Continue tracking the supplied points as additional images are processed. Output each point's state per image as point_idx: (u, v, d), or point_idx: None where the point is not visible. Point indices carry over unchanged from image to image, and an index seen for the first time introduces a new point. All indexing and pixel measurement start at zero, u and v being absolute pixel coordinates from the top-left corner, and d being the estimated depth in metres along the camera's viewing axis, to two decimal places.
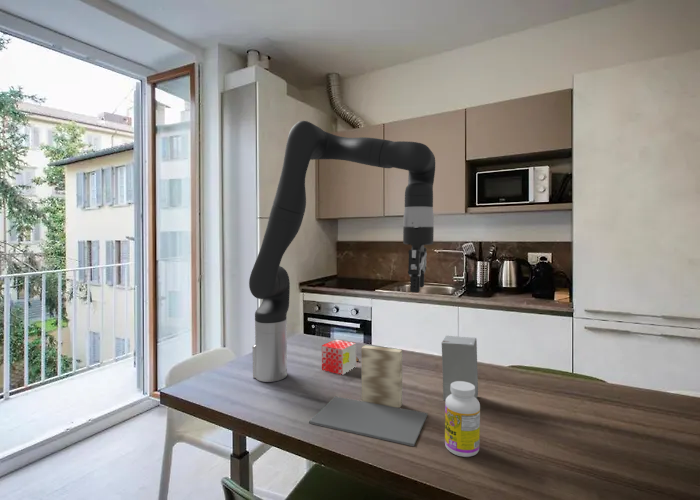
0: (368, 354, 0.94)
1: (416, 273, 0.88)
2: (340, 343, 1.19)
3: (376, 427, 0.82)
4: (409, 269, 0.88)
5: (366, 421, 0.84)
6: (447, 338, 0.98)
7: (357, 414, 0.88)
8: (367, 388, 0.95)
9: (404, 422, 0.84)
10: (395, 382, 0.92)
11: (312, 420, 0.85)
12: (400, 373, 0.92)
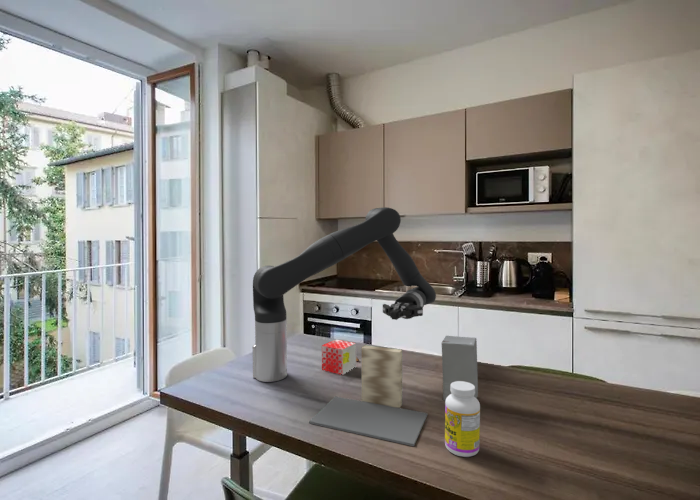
0: (368, 354, 0.94)
1: (409, 315, 1.07)
2: (340, 343, 1.20)
3: (376, 427, 0.82)
4: (410, 309, 1.07)
5: (366, 421, 0.84)
6: (447, 338, 0.98)
7: (357, 414, 0.88)
8: (367, 388, 0.95)
9: (404, 422, 0.84)
10: (395, 382, 0.92)
11: (312, 420, 0.85)
12: (400, 373, 0.92)
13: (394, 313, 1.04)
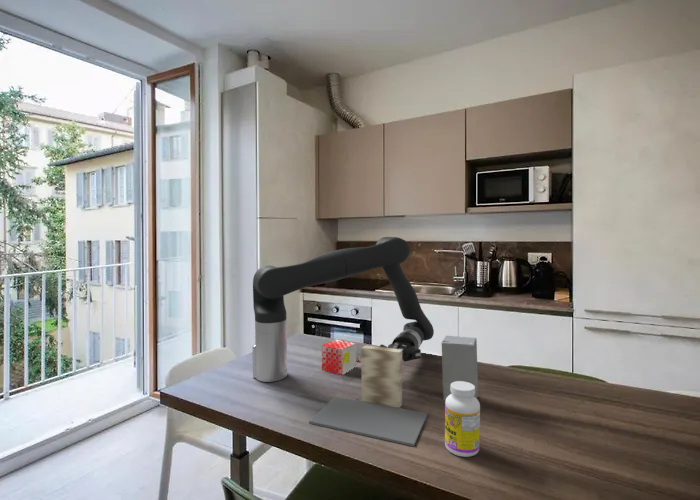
0: (368, 354, 0.94)
1: (406, 359, 1.06)
2: (340, 343, 1.20)
3: (376, 427, 0.82)
4: (408, 353, 1.06)
5: (366, 421, 0.84)
6: (447, 338, 0.98)
7: (357, 414, 0.88)
8: (367, 388, 0.95)
9: (404, 422, 0.84)
10: (395, 382, 0.92)
11: (312, 420, 0.85)
12: (400, 373, 0.92)
13: None
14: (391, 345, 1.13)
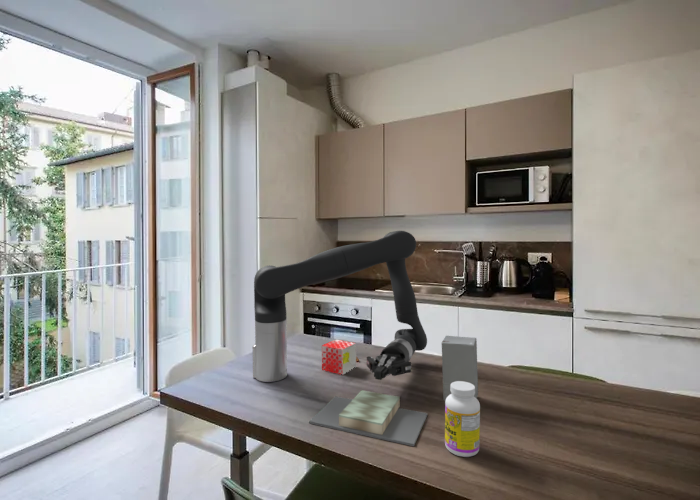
0: None
1: (395, 373, 0.95)
2: (340, 343, 1.20)
3: None
4: (397, 366, 0.95)
5: None
6: (447, 338, 0.98)
7: None
8: None
9: (404, 422, 0.84)
10: None
11: (312, 420, 0.85)
12: (389, 418, 0.84)
13: (378, 372, 0.92)
14: (379, 357, 1.02)
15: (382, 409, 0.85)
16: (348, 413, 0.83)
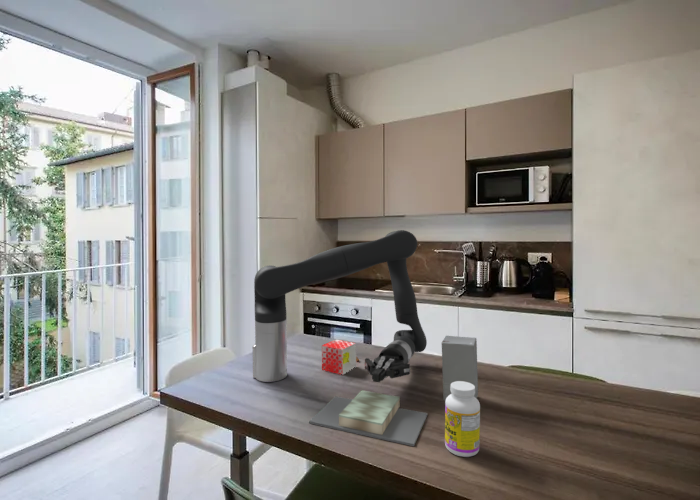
0: None
1: (393, 375, 0.94)
2: (340, 343, 1.20)
3: None
4: (395, 369, 0.94)
5: None
6: (447, 338, 0.98)
7: None
8: None
9: (404, 422, 0.84)
10: None
11: (312, 420, 0.85)
12: (389, 418, 0.84)
13: (376, 375, 0.90)
14: (377, 359, 1.01)
15: (382, 409, 0.85)
16: (348, 413, 0.83)
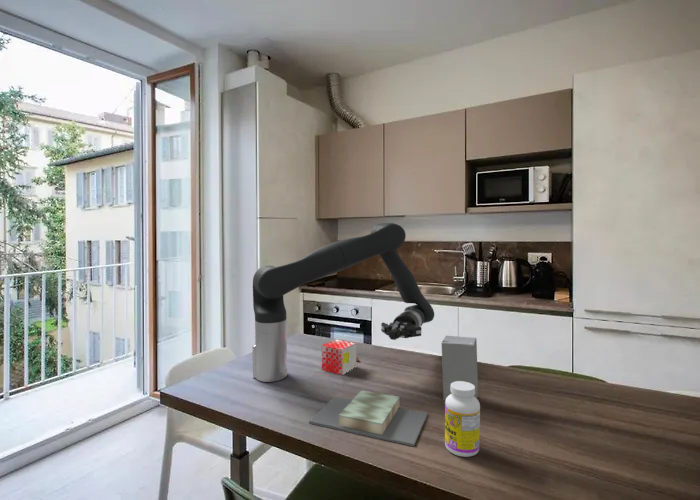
0: None
1: (407, 335, 1.07)
2: (340, 343, 1.20)
3: None
4: (409, 329, 1.07)
5: None
6: (447, 338, 0.98)
7: None
8: None
9: (404, 422, 0.84)
10: None
11: (312, 420, 0.85)
12: (389, 418, 0.84)
13: (393, 333, 1.04)
14: (392, 323, 1.14)
15: (382, 409, 0.85)
16: (348, 413, 0.83)
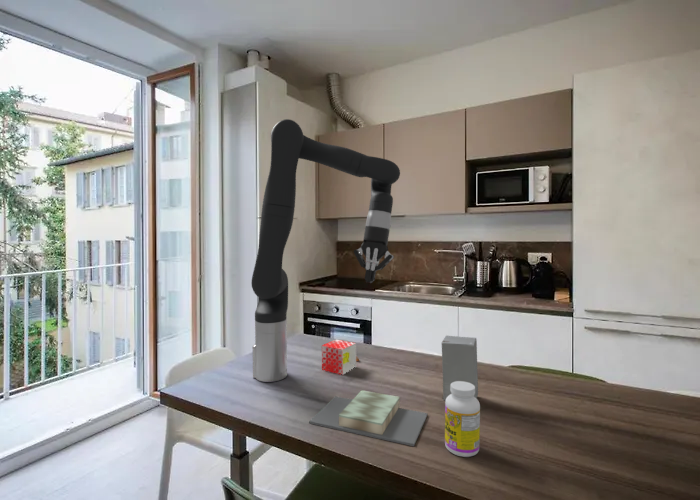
0: None
1: (381, 268, 1.14)
2: (340, 343, 1.20)
3: None
4: None
5: None
6: (447, 338, 0.98)
7: None
8: None
9: (404, 422, 0.84)
10: None
11: (312, 420, 0.85)
12: (389, 418, 0.84)
13: (368, 282, 1.14)
14: (363, 248, 1.15)
15: (382, 409, 0.85)
16: (348, 413, 0.83)
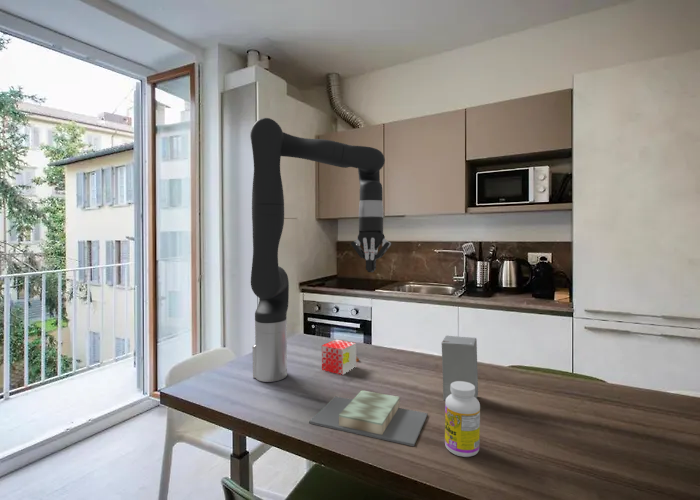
0: None
1: (381, 256, 1.15)
2: (340, 343, 1.20)
3: None
4: None
5: None
6: (447, 338, 0.98)
7: None
8: None
9: (404, 422, 0.84)
10: None
11: (312, 420, 0.85)
12: (389, 418, 0.84)
13: None
14: (360, 239, 1.15)
15: (382, 409, 0.85)
16: (348, 413, 0.83)
